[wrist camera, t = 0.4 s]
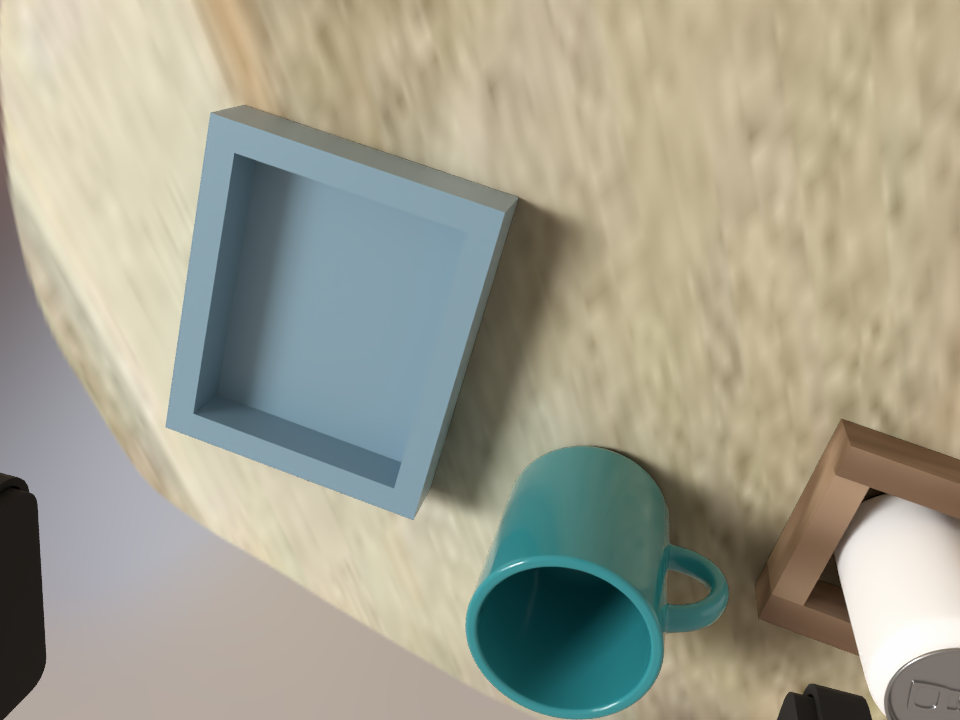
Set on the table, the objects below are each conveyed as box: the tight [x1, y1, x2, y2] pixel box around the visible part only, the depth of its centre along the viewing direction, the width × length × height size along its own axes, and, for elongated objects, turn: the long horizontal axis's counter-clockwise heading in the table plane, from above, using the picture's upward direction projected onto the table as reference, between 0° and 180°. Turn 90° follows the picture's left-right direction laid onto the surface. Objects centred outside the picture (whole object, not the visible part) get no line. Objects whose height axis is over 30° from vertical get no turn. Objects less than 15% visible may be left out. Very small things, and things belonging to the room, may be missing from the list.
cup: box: [465, 446, 729, 719], centre depth 45 cm, size 9×12×11 cm
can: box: [834, 494, 960, 720], centre depth 41 cm, size 6×6×12 cm
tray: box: [166, 105, 519, 520], centre depth 47 cm, size 18×15×4 cm
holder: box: [755, 419, 960, 656], centre depth 45 cm, size 11×11×3 cm
